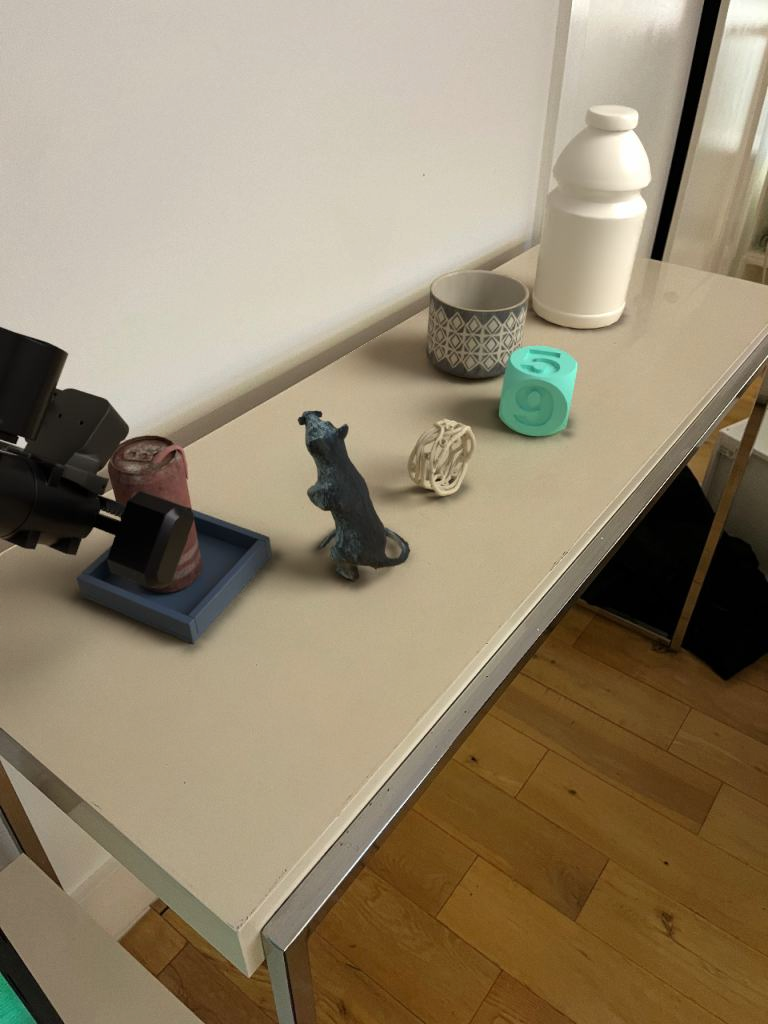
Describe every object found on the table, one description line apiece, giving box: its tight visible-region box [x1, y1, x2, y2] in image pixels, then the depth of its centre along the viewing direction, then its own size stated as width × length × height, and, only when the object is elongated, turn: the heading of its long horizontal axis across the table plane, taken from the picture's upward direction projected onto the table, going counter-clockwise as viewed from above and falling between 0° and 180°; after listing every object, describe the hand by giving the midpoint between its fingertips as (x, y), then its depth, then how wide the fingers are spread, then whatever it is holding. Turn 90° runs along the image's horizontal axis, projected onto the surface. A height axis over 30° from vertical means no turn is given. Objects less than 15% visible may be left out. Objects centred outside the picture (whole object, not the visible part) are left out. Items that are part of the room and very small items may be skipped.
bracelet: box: [407, 418, 477, 497], centre depth 83 cm, size 4×8×8 cm, turn 141°
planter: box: [426, 269, 530, 379], centre depth 103 cm, size 13×13×10 cm
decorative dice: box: [498, 345, 579, 437], centre depth 93 cm, size 8×8×8 cm
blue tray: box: [75, 509, 273, 645], centre depth 73 cm, size 13×13×2 cm
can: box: [107, 434, 202, 594], centre depth 69 cm, size 6×6×14 cm
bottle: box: [531, 104, 652, 329], centre depth 110 cm, size 14×14×28 cm
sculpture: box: [297, 410, 411, 582], centre depth 72 cm, size 8×11×15 cm
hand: (141, 525), depth 66 cm, fingers open, 9 cm apart
